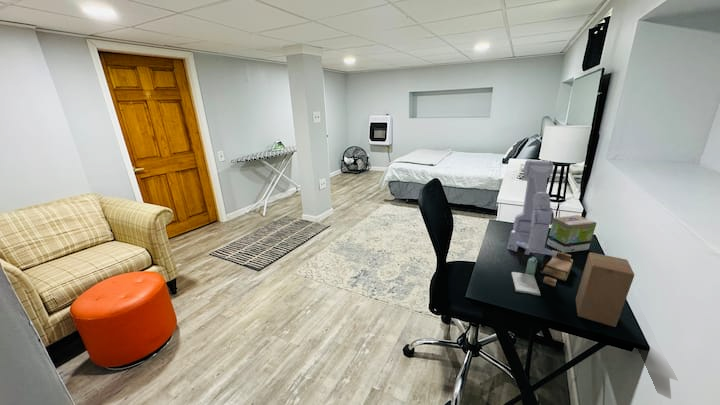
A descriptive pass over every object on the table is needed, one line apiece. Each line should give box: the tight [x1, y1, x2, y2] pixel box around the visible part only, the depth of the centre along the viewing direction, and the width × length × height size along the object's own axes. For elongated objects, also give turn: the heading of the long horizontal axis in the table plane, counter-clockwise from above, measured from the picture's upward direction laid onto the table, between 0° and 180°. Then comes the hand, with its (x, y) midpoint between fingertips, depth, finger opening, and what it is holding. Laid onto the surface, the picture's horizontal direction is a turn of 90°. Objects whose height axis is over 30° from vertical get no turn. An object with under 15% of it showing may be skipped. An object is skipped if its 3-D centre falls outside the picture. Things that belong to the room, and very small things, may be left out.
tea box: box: [546, 214, 597, 254], centre depth 137 cm, size 15×10×15 cm, turn 104°
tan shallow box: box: [539, 261, 574, 287], centre depth 118 cm, size 9×19×3 cm, turn 137°
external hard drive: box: [511, 271, 541, 296], centre depth 113 cm, size 2×8×12 cm
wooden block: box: [575, 251, 635, 328], centre depth 94 cm, size 10×10×20 cm
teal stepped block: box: [524, 256, 539, 276], centre depth 118 cm, size 3×4×7 cm
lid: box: [541, 249, 574, 273], centre depth 119 cm, size 9×12×3 cm
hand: (531, 266), depth 119 cm, fingers open, 7 cm apart
